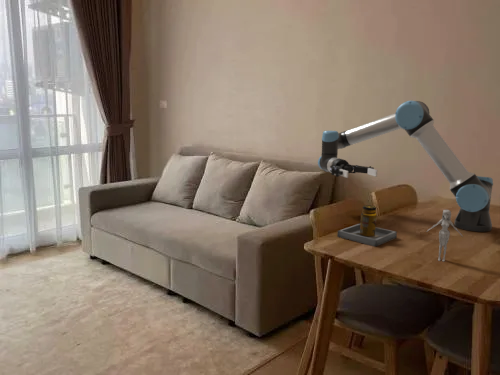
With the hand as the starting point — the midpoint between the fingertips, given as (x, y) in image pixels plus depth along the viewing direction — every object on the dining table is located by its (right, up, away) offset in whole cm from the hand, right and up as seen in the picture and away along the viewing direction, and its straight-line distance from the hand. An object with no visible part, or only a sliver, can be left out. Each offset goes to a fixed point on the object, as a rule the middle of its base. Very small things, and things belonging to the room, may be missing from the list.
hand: (362, 173), depth 203 cm
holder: (0, -26, -7) cm, 27 cm away
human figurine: (+21, -31, -31) cm, 49 cm away
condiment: (0, -25, -7) cm, 26 cm away
